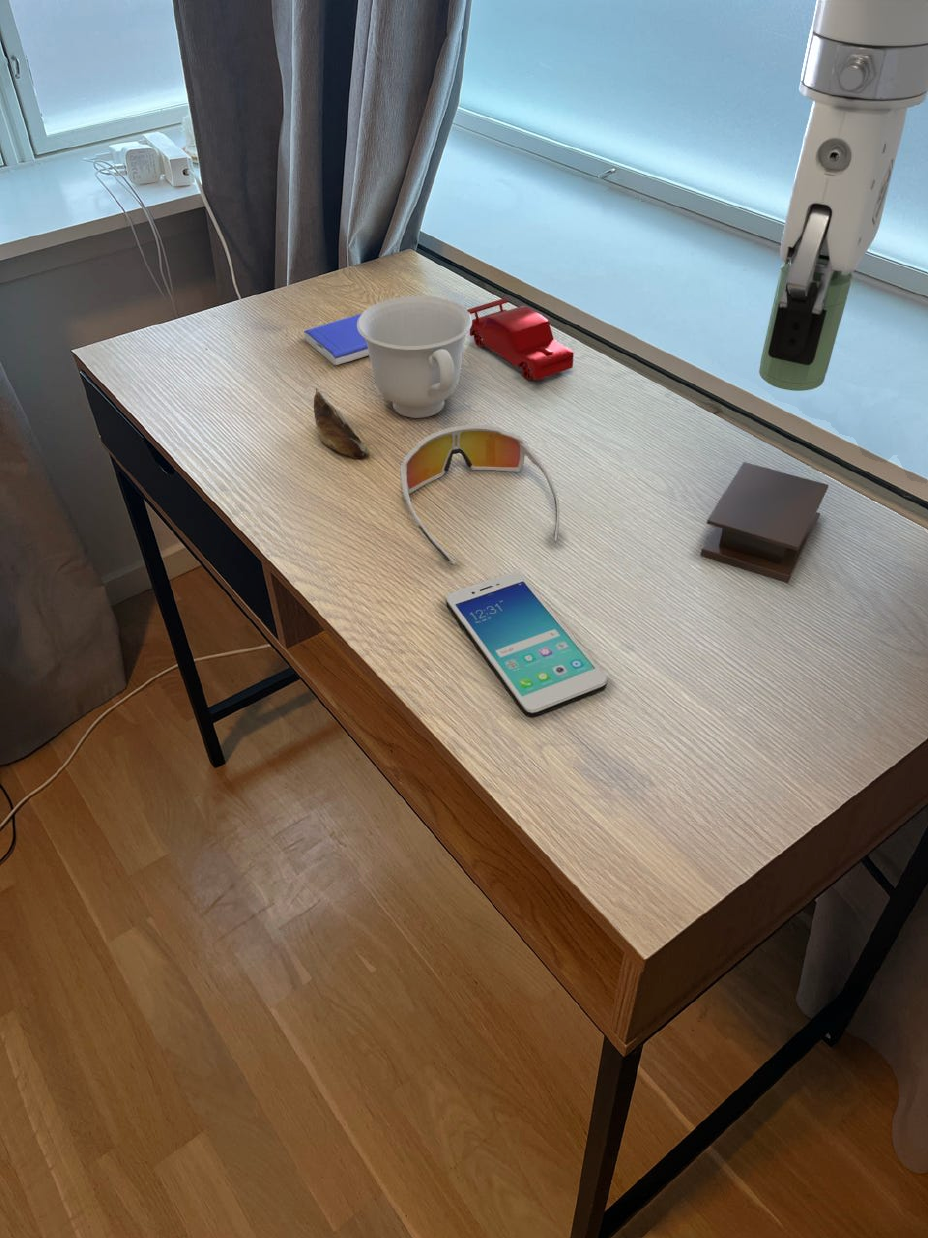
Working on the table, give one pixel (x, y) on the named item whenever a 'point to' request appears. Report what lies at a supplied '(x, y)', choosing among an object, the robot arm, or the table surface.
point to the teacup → (415, 350)
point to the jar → (814, 374)
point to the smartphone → (525, 643)
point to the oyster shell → (336, 429)
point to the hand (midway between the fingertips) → (800, 340)
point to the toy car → (521, 340)
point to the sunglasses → (479, 452)
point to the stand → (764, 521)
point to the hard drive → (338, 340)
